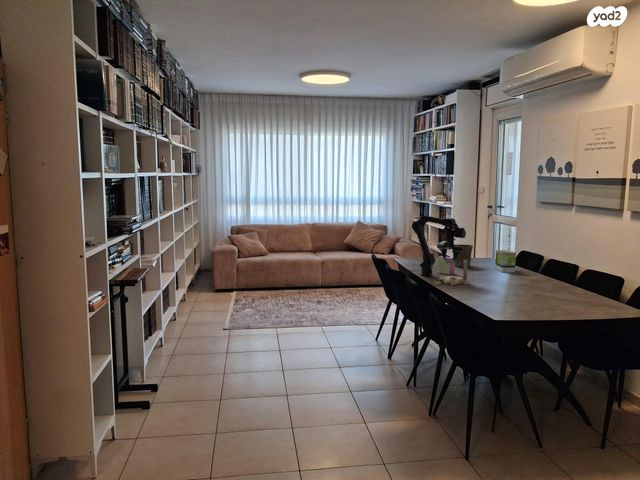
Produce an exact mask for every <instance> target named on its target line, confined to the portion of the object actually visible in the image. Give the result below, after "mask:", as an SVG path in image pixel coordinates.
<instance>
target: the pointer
mask: <svg viewBox="0 0 640 480" xmlns="http://www.w3.org/2000/svg"><path fill="white" fill-rule="evenodd" d="M433 282H434V285H436V286H437V285H438V286H439V285H442V283H441V281H437V280H434V281H433Z"/></svg>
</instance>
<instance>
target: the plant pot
mask: <svg viewBox="0 0 640 480" xmlns="http://www.w3.org/2000/svg"><path fill="white" fill-rule="evenodd" d="M454 245H455V246H461V247H462V251H461V252H460V253H459V254H458V256H457V258H456V260H455V264H454V267H458V268H459V267H461V268H464V259H467V260H468V265H467V268H469V267H471V260H472V251H473V248H474V245H472V244H463V243H462V244H460V243H459V244H454ZM452 251H453V250H452V249H451V252H452Z"/></svg>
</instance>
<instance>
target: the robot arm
mask: <svg viewBox="0 0 640 480" xmlns="http://www.w3.org/2000/svg"><path fill="white" fill-rule="evenodd" d="M427 223H432V224H439V225H441V226H443V227H444V228H442V230H443V231H445V238H443V240H442V241H441V242H438V243H437V245H436V248H437V249H438V250H439V251H440V253H441V256H443V258H444V259H445V258H446V257H447V253H448V249H450V250H451V253H452V258H453V261H455V260H456V258H457V256H458V254H459V253H460V252H461V251H462V247H461V246H455V245H456V244H455V241H456V238H458V239H465V238H466V236H467V232H466V230H465V227H459V225H458V224H457V221H456V219H455V218H453V217H449V218H448V217H446V218H444V217H443V218H441V217H436V216H431V215H423V216H422V217H420V218H419V219H417V220H416V221H413V222H412V224H411V228H412V230H413V232H414V233H415V234H416V236H417V239H418V242H419V244H420V247H421V251H422V262H421V263H420V264H419V266H420V268H421V274H420V277H421V276H422V277H431V276H433V269H432V268H433V266H434V264H435V263H436V257H435V254H434V253H432V252H431V250H430V248H429V246H428V242H427V238H426V235H425V232H424V231H425V225H426V224H427ZM452 250H453V251H452Z"/></svg>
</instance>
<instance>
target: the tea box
mask: <svg viewBox="0 0 640 480" xmlns="http://www.w3.org/2000/svg"><path fill="white" fill-rule="evenodd" d="M516 260H517V252H515V251H513V250H510V249H496V250H495V265H494V269H496V270H497V271H498V272H501V273H515V272H516V263H517V262H516Z"/></svg>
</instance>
